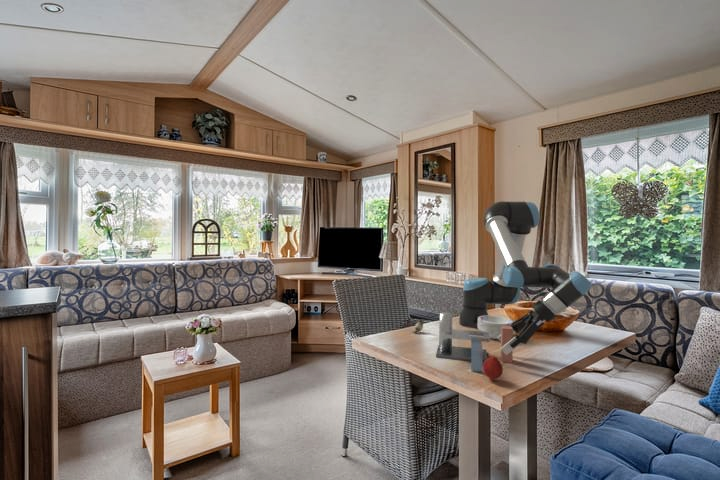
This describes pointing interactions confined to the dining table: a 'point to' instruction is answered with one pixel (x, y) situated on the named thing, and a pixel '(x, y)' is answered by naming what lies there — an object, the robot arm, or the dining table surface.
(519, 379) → the dining table surface
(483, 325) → the paper bowls
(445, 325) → the grey stand
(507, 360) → the pink rectangular block
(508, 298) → the robot arm
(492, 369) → the onion
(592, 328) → the dining table surface
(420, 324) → the greenish grey small figure
